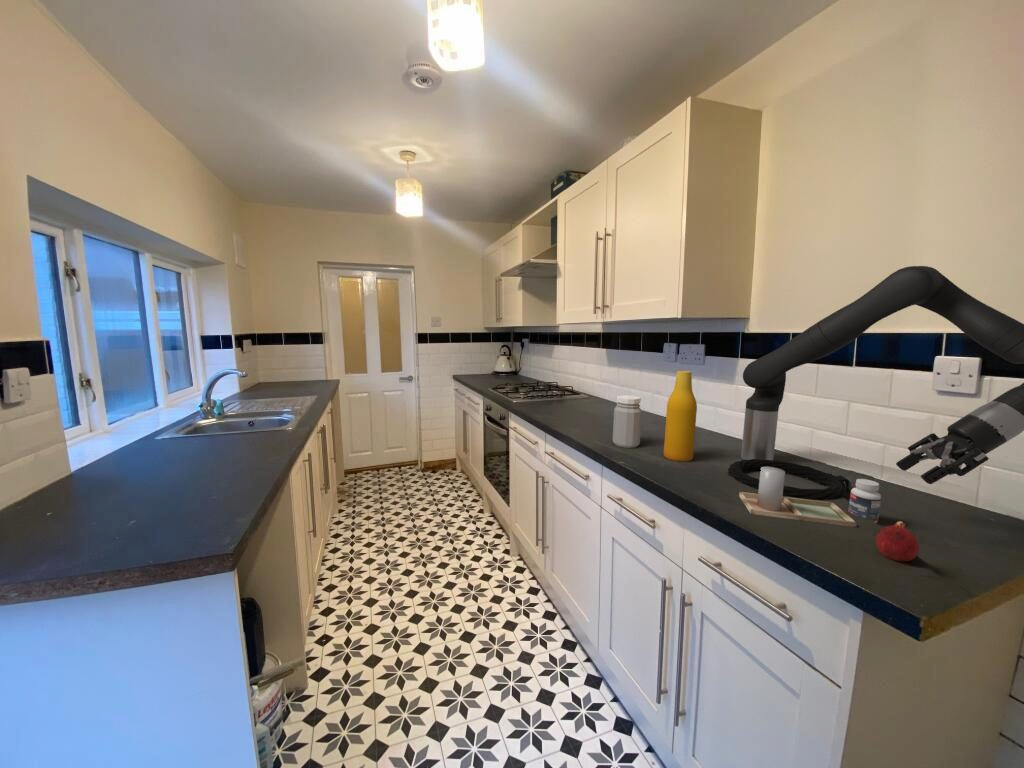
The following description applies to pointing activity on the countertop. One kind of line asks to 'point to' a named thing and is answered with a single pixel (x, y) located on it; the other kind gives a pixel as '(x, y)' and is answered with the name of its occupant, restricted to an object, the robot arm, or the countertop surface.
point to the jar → (627, 421)
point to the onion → (897, 543)
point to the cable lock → (835, 483)
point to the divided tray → (801, 510)
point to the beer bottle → (681, 420)
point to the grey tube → (771, 488)
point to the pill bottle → (865, 499)
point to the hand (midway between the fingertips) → (911, 473)
